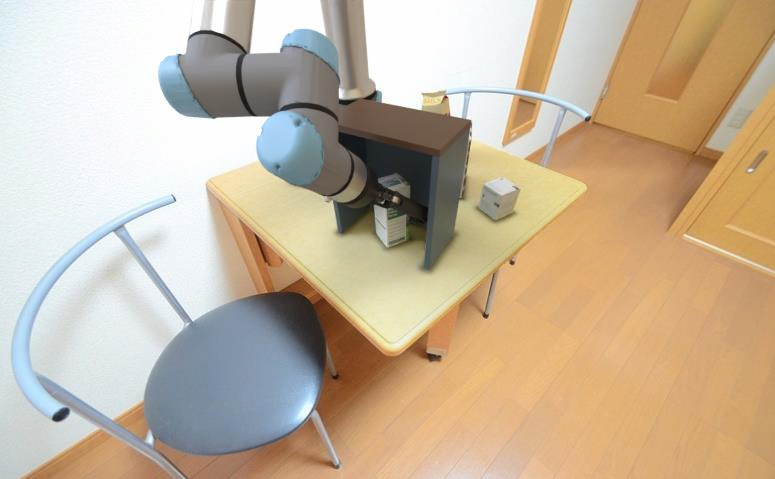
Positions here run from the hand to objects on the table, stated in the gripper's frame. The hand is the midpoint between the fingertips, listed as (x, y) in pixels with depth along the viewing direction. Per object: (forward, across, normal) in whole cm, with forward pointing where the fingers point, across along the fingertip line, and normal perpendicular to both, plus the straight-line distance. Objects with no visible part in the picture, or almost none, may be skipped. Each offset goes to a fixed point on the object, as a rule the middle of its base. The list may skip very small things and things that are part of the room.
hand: (397, 207), depth 68 cm
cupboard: (+4, 0, -6) cm, 7 cm away
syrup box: (+3, 0, -6) cm, 7 cm away
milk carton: (+31, -9, +21) cm, 39 cm away
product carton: (+18, +17, +8) cm, 26 cm away
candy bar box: (+22, +4, +12) cm, 25 cm away
